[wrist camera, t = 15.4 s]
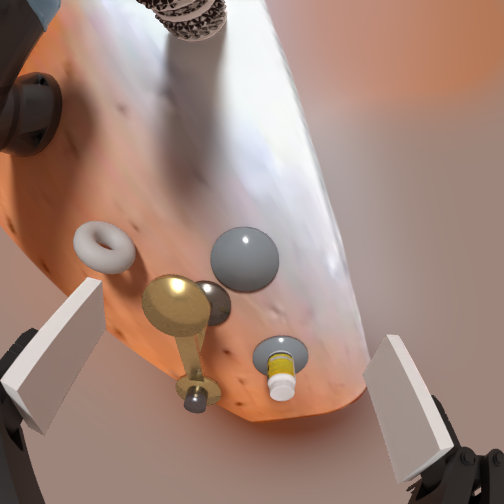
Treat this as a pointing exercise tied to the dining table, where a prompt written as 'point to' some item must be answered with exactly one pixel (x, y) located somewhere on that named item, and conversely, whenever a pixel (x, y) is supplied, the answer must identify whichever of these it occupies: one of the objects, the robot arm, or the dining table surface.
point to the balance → (188, 329)
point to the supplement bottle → (281, 375)
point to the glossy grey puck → (244, 259)
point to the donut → (98, 255)
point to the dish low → (278, 344)
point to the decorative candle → (189, 17)
